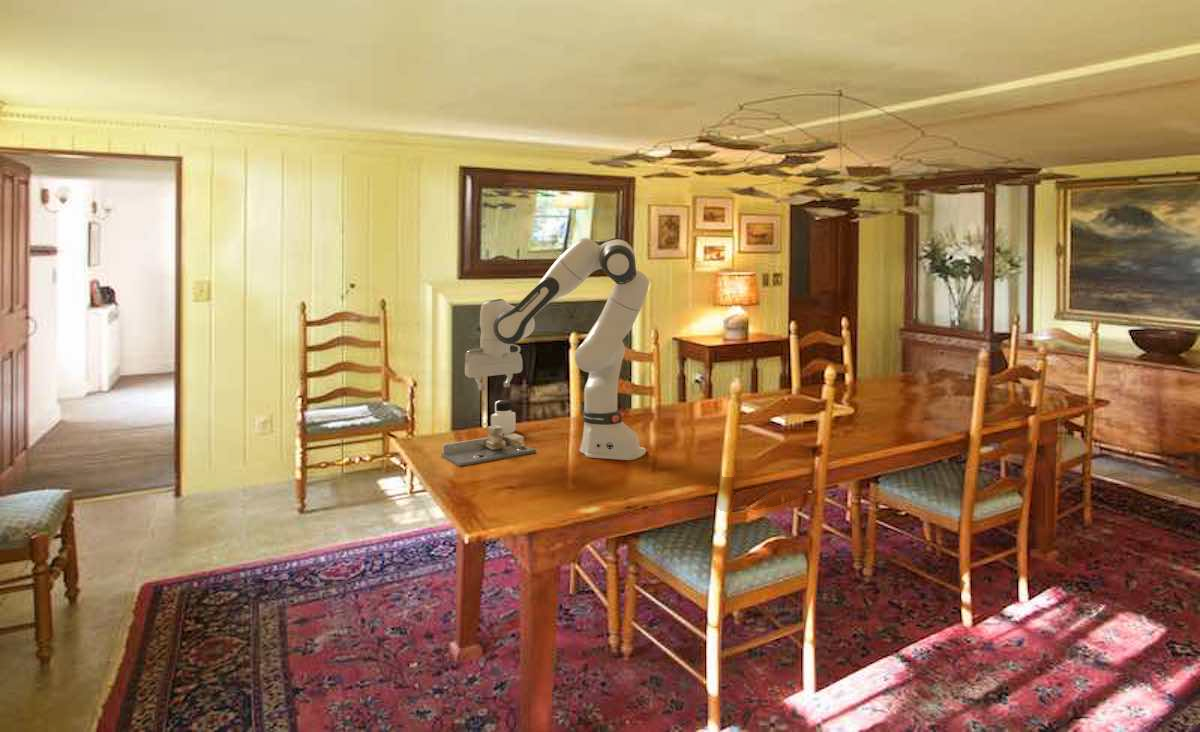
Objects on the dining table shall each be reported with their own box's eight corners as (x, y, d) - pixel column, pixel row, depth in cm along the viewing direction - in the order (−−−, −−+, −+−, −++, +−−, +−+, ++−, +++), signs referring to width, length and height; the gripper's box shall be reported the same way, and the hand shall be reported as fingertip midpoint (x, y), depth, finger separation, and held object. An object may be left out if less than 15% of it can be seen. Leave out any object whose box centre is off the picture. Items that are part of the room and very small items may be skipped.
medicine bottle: (516, 430, 282) (515, 399, 280) (508, 435, 275) (508, 403, 274) (498, 429, 284) (497, 398, 282) (490, 433, 277) (490, 402, 275)
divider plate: (515, 443, 263) (515, 432, 263) (535, 452, 252) (535, 441, 251) (441, 456, 248) (440, 444, 247) (459, 466, 236) (458, 454, 236)
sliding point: (498, 444, 258) (498, 424, 257) (511, 450, 250) (511, 430, 249) (485, 446, 255) (485, 426, 254) (498, 452, 247) (498, 432, 246)
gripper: (469, 351, 241) (469, 393, 243) (524, 346, 252) (524, 386, 254) (460, 348, 246) (461, 389, 248) (515, 344, 257) (515, 383, 259)
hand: (494, 388), depth 251 cm, fingers open, 8 cm apart
